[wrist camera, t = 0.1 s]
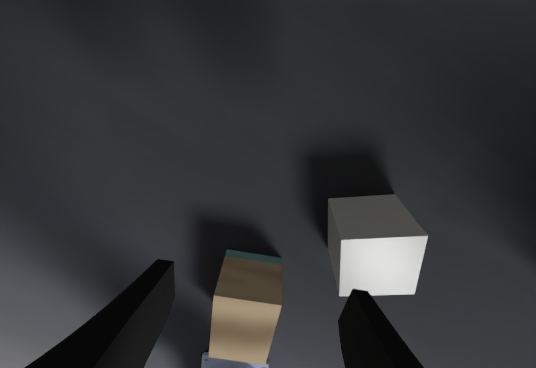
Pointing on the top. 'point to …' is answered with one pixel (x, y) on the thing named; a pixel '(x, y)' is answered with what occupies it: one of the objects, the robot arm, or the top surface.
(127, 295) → the robot arm
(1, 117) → the top surface
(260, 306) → the oak block
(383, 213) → the grey block
